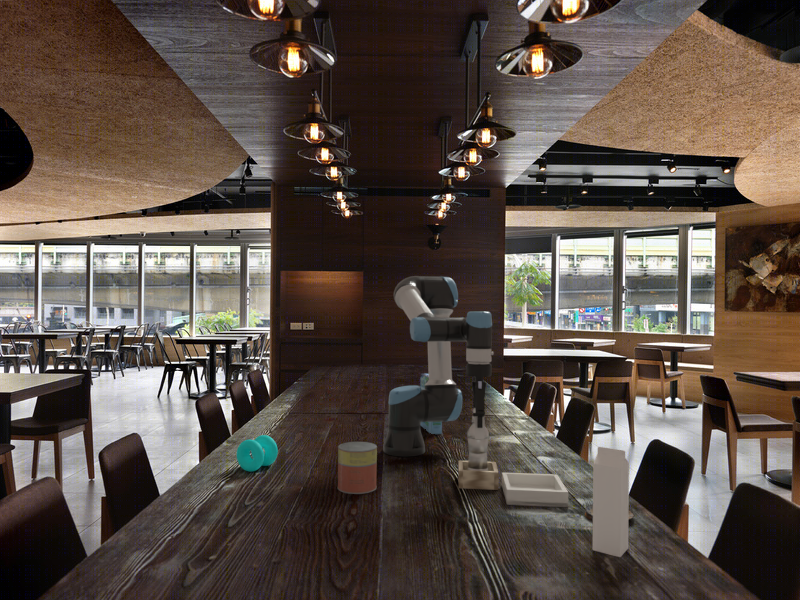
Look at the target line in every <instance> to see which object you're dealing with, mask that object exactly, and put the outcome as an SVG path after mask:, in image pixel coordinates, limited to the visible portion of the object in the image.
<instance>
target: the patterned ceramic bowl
mask: <svg viewBox="0 0 800 600" xmlns="http://www.w3.org/2000/svg"><path fill="white" fill-rule="evenodd" d="M584 510H585V513H584V517H586V519H587V520H589V521H590V522H593V504H589V505H587V506H586V507H585V509H584ZM634 517H635V514H634V512H632V511H631V510H630V509H629V515H628V521H629V520H631V519H633V518H634Z"/></svg>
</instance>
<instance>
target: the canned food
mask: <svg viewBox="0 0 800 600" xmlns="http://www.w3.org/2000/svg"><path fill="white" fill-rule="evenodd" d="M337 448H338V450H337V451H338V453H337V457H338V458H337V460H338V461H337V462H338V463H337V465H338V466H337V490H338V491H340V492H342V493H344V494H349V495H353V494H354V495H362V494H369V493H372V492H374V491H375V490H377V468H378V467H377V465H378V464H377V460H378V459H377V457H378V456H377V455H378V454H377V453H378V451H377V450H378V446H377V444H376V443H373V442H369V441H368V442H367V441H348V442H343V443H340V444H339V445H337Z"/></svg>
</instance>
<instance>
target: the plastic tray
mask: <svg viewBox="0 0 800 600" xmlns="http://www.w3.org/2000/svg"><path fill="white" fill-rule="evenodd" d="M501 488H502V492H503V495H504V499H505V502H506V505H508V506H509V505H510V506H527V507H530V506H533V507H550V508H552V507H553V508H569V491H568V490H567V488H566V486H565V485H564V483H563V481H562V480H561V478H560V477H559V475H558V474H551V473H550V474H549V473H548V474H547V473H528V472H527V473H525V472H524V473H523V472H501Z"/></svg>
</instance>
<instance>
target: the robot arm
mask: <svg viewBox="0 0 800 600" xmlns="http://www.w3.org/2000/svg"><path fill="white" fill-rule="evenodd" d="M458 291H459V290H458V288H457V283H456V282H455V280H454V279H453V278H451V277H449V276H442V275H440V276H435V275H434V276H433V275H431V276H430V275H429V276H428V275H425V276H423V275H422V276H421V275H420V276H419V275H414V276H413V275H412V276H407V277H406V278H404V279H402V280H400V282H398V283H397V285H396V286H395V288H394V291H393V299H394V302H395V304H396V305H397V307H398V308H399V309H401V310H403V312H404V314H405V315H406V316H407V318H408V319H409V321H410V323H409V334H410V339H411V340H413V341H415V342H421V343H427V364H428V365H427V366H428V367H427V369H428V374H429V380H428V382H427V383H426V384H425V390H421V387H420V385H402V386H399V387H395V388H393V389H391V390H390V391H389V395H388V402H387V404H388V430H387V433H386V436H385V439H384V443H383V448H382V449H383V450H382V451H383V453H384V454H387V455H389V456H394V457H416V456H421V455H423V454H425V452H426V444H425V440H424V438H423V434H422V430H421V425H420V424H421V422H441V421H442V422H445V423H446V422H453V421H456V420H457V419H458V418H459V417H460V415H461V412H462V409H463V393H462V391H461V389H459V388H457V383H456V382H455V381H454V380H453V373H452V351H451V350H452V348H451V347H452V346H451V342H466V350H465V351H466V353H465V355H466V356H465V357H466V358H465V359H466V362H467V364H465V365H466V366H465V367H466V369H465V371H466V372H465V374H466V376H468V377H472V378H473V381H471V388H472V394H473V401H472V404H473V405H472V406H473V409H472V416H475V439H484V425H486V424H485V415H486V410H485V407H486V406H485V397H486V388H487V383H486V381H484V377H485V378H488V377H491V376H492V370H493V369H492V368H493V367H492V364H491V362H492V356H494V353H495V352H494V351H492V346H493V345H492V342H493V321H492V317H493V316H492V313H491V312H490V311H468V312H467V313H466V317H451V315H452V314H453V312H454V308H456V307H457V305H458V302H459V301H458V300H459V292H458Z"/></svg>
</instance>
